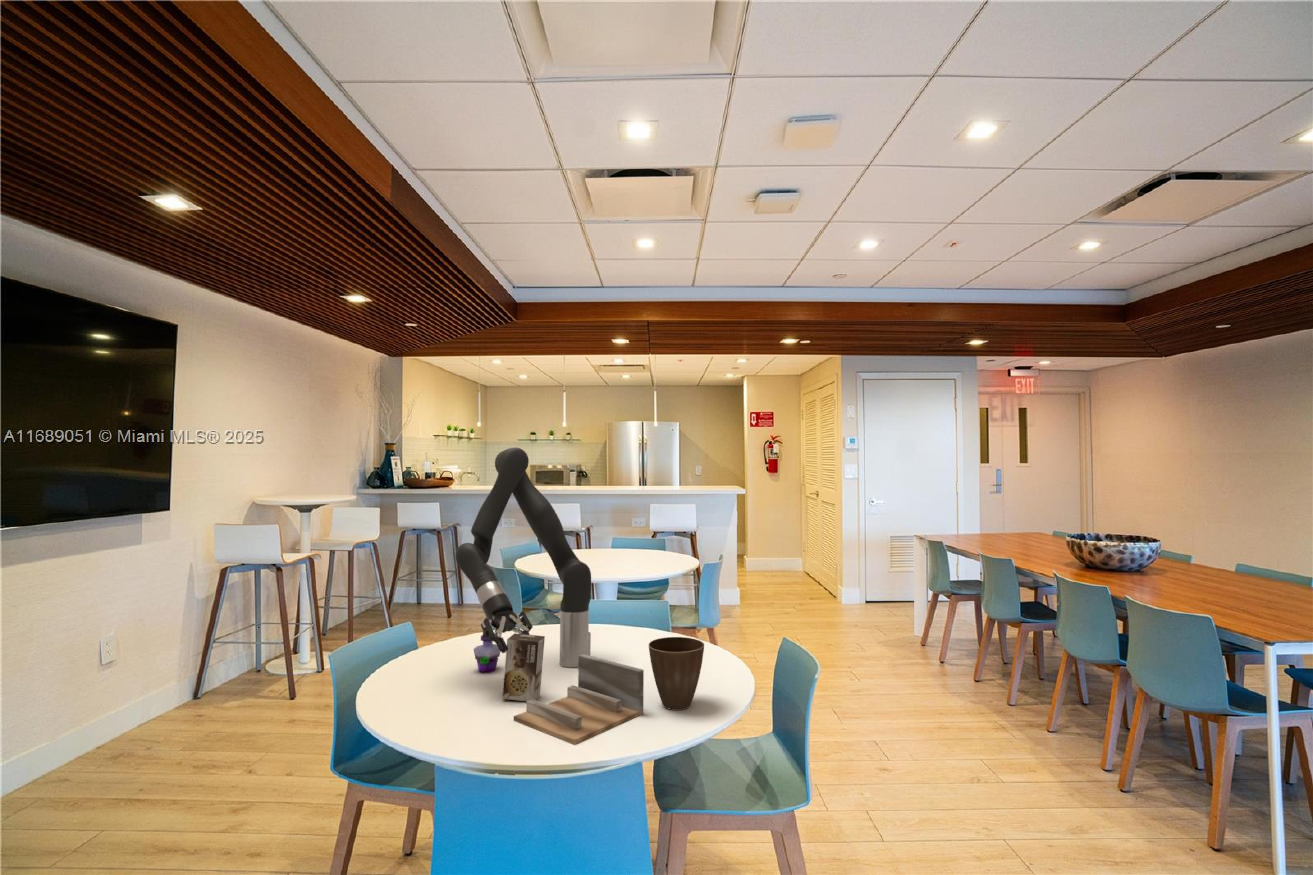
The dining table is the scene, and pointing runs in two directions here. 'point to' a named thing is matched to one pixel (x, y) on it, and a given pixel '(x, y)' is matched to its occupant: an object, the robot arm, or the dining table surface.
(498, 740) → the dining table surface
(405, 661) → the dining table surface
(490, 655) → the potion bottle
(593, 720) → the track board
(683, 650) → the plant pot
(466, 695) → the dining table surface
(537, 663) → the coffee box
